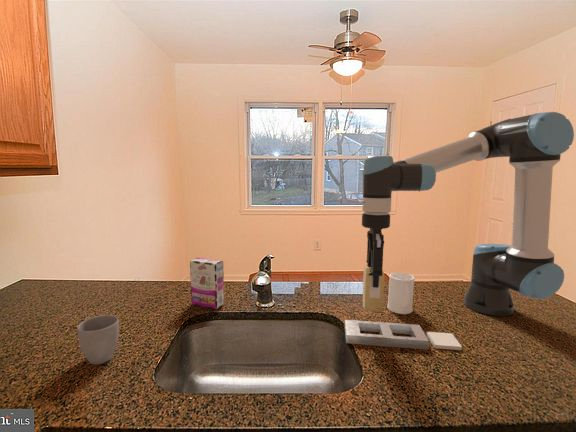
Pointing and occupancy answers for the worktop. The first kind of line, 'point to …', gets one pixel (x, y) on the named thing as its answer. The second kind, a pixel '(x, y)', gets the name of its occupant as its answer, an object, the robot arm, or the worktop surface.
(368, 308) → the brass block
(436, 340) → the pad
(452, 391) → the worktop surface
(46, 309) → the worktop surface
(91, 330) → the mug
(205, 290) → the candy bar box
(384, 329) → the rail plate
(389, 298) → the mug
